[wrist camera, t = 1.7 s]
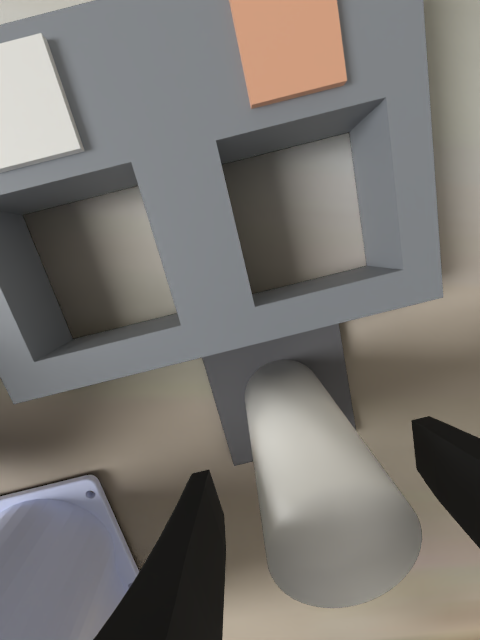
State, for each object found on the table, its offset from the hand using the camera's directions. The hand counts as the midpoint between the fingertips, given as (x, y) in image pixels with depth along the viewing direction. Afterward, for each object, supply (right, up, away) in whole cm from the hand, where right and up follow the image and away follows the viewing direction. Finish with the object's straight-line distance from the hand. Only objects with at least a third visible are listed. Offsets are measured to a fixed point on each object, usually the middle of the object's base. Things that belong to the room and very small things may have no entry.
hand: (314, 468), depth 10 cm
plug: (0, +1, +5) cm, 5 cm away
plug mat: (0, +1, +6) cm, 6 cm away
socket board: (-5, +10, +3) cm, 12 cm away
